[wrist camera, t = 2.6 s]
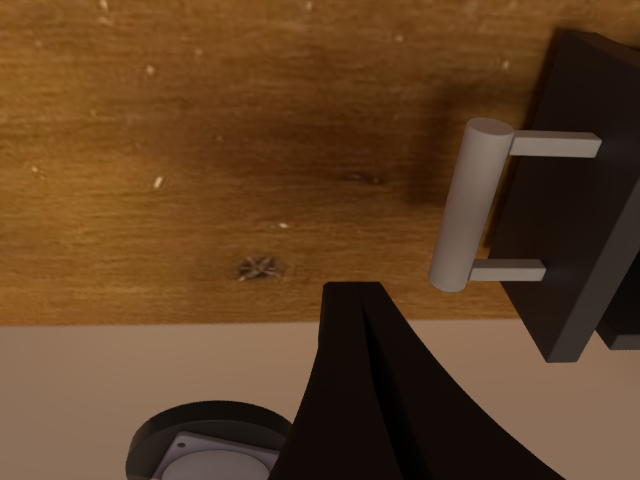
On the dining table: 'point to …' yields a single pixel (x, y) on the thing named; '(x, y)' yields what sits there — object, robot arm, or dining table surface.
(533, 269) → the drawer
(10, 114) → the dining table surface
